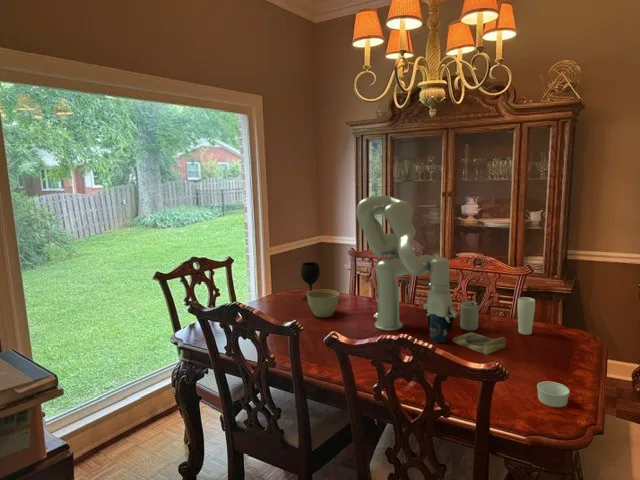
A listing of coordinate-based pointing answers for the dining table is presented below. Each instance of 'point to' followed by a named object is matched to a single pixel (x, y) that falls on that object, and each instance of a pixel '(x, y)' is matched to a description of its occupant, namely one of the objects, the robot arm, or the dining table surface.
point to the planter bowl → (323, 302)
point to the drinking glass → (525, 315)
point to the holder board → (480, 343)
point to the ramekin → (553, 393)
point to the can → (469, 316)
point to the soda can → (438, 328)
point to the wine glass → (310, 274)
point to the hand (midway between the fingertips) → (440, 328)
